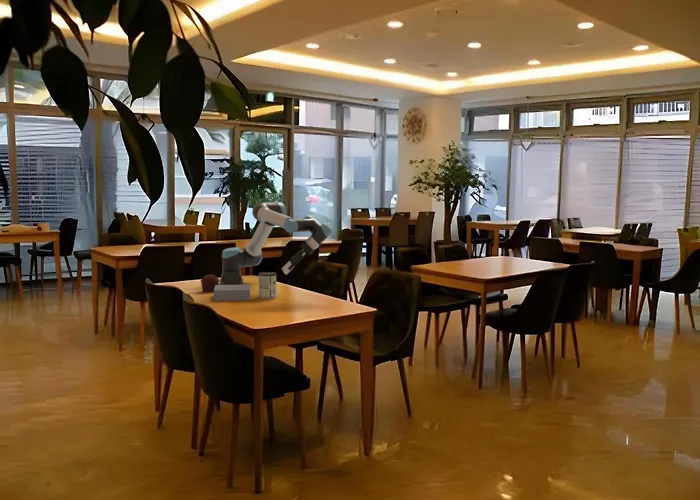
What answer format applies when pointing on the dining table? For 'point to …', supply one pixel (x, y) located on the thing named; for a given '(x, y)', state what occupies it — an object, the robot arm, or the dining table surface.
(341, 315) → the dining table surface
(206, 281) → the muffin
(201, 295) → the dining table surface
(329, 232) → the robot arm
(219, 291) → the grey block
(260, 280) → the coffee can
